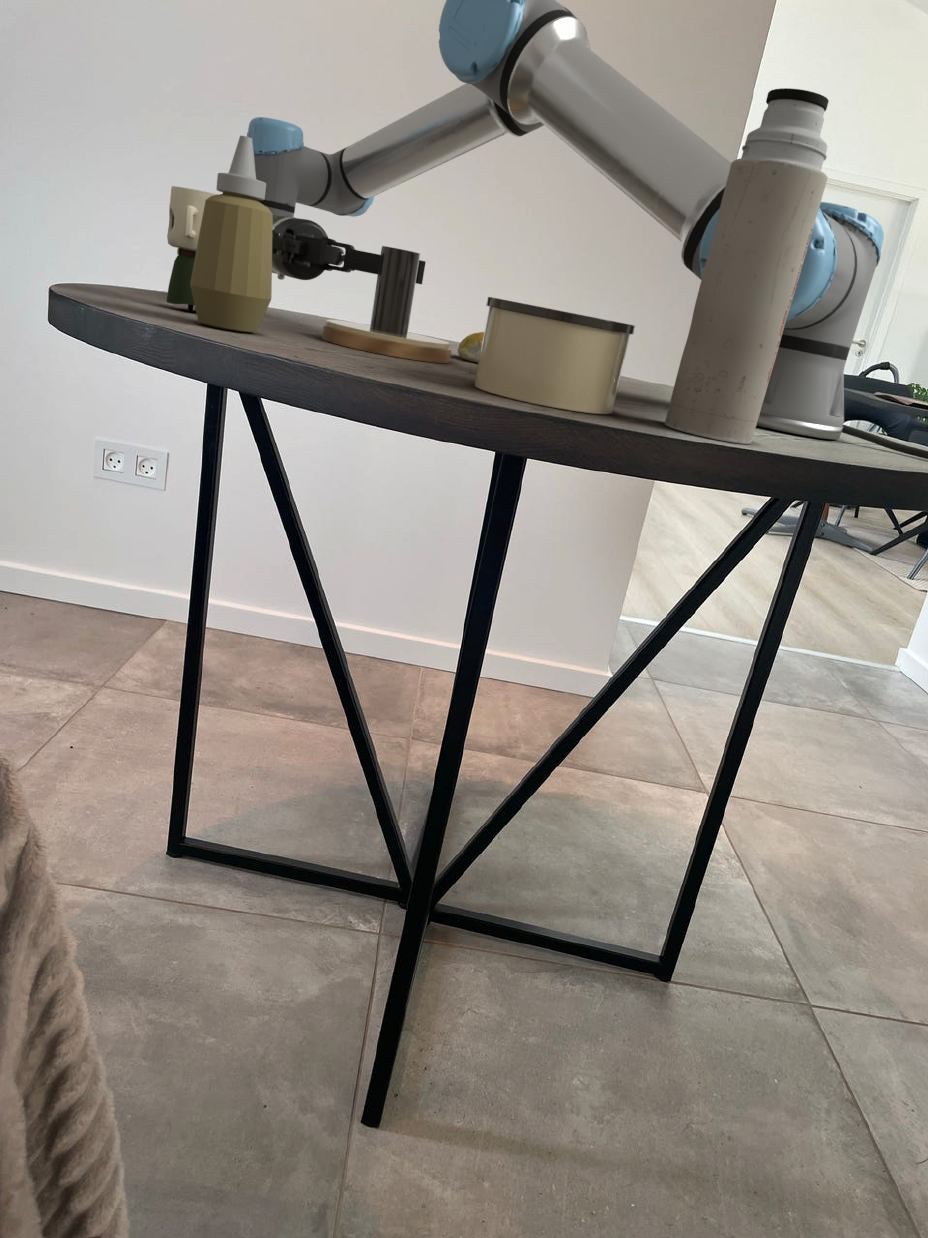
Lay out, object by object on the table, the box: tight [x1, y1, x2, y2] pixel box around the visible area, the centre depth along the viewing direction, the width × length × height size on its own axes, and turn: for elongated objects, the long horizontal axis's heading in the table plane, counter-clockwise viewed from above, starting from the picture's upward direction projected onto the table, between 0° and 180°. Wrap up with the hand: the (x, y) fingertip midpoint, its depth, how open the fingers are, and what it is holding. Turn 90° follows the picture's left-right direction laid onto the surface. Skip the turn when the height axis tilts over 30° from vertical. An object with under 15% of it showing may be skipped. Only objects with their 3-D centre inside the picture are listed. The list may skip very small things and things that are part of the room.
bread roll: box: [457, 331, 484, 364], centre depth 119 cm, size 8×9×4 cm
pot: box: [474, 296, 637, 415], centre depth 86 cm, size 14×14×8 cm
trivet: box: [321, 324, 452, 364], centre depth 108 cm, size 15×15×2 cm
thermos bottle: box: [664, 87, 830, 445], centre depth 80 cm, size 8×8×28 cm
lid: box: [325, 245, 450, 349], centre depth 106 cm, size 14×14×10 cm
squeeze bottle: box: [190, 135, 273, 334], centre depth 93 cm, size 8×8×18 cm
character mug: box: [165, 185, 219, 313], centre depth 107 cm, size 11×7×13 cm, turn 178°
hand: (374, 262), depth 109 cm, fingers open, 13 cm apart
